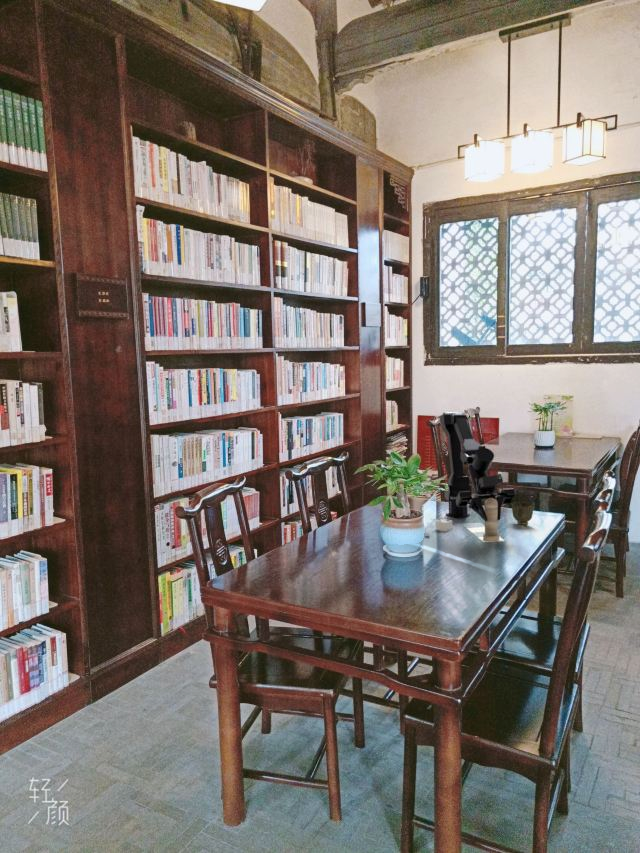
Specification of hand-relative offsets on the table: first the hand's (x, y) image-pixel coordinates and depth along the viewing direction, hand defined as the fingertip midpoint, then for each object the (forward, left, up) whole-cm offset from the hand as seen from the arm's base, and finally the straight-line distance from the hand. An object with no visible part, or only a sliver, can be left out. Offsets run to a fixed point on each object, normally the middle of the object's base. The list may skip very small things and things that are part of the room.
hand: (492, 520), depth 193 cm
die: (-19, -2, -8) cm, 21 cm away
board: (-9, +5, -8) cm, 12 cm away
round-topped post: (-1, +1, -7) cm, 7 cm away
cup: (-7, +24, -8) cm, 26 cm away
